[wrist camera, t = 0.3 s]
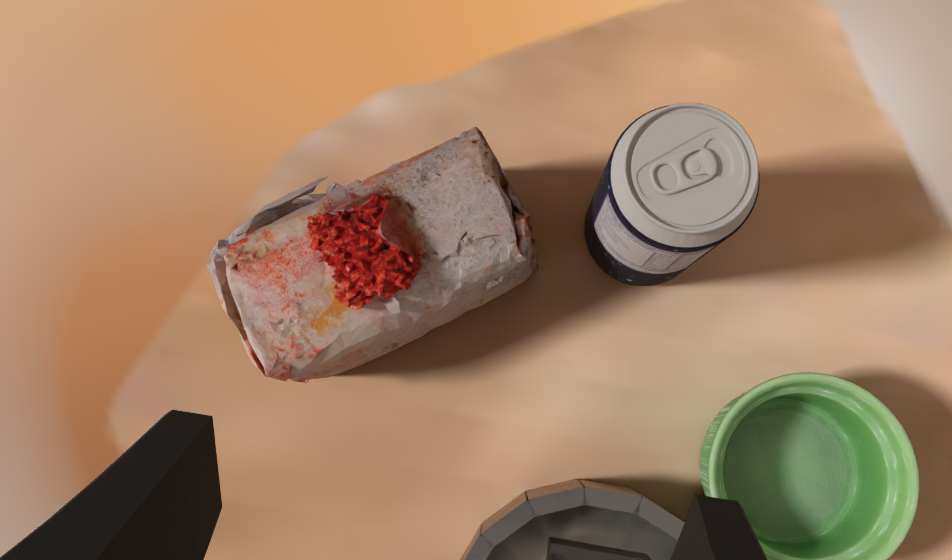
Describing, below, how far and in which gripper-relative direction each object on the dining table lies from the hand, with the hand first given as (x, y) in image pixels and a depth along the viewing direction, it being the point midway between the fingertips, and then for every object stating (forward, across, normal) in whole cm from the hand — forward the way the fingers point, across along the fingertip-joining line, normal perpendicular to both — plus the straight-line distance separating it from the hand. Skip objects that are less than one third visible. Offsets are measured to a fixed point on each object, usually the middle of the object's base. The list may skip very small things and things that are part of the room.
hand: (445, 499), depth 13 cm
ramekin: (+21, -15, +19) cm, 32 cm away
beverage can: (+28, -7, +12) cm, 31 cm away
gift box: (+26, +5, +15) cm, 30 cm away
